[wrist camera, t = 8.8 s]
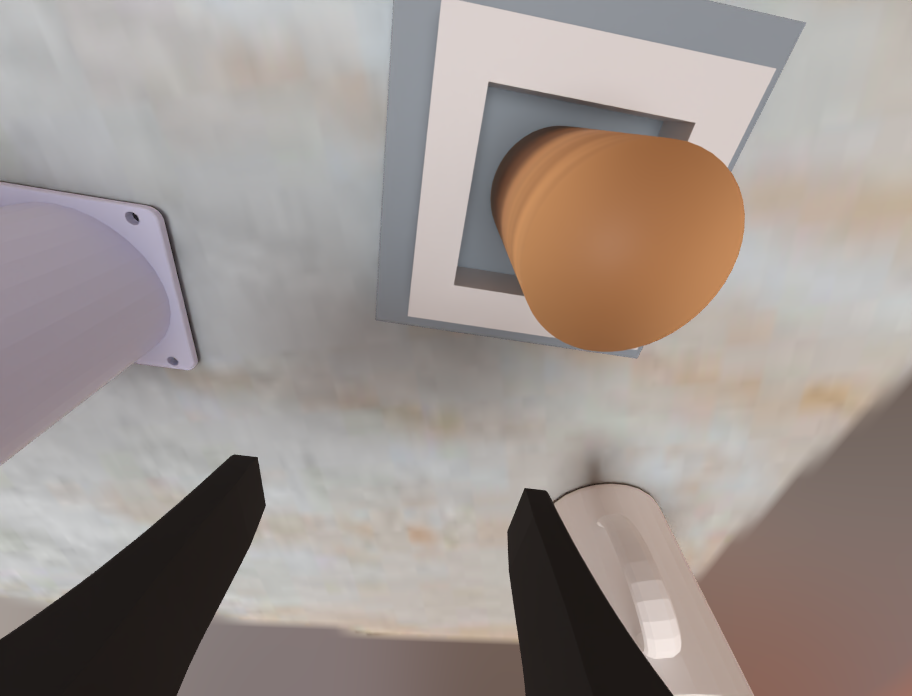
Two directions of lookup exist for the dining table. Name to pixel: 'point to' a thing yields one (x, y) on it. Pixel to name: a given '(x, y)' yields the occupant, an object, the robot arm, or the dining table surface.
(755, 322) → the dining table surface
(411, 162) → the socket board
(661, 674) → the mug
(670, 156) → the peg
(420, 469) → the dining table surface
